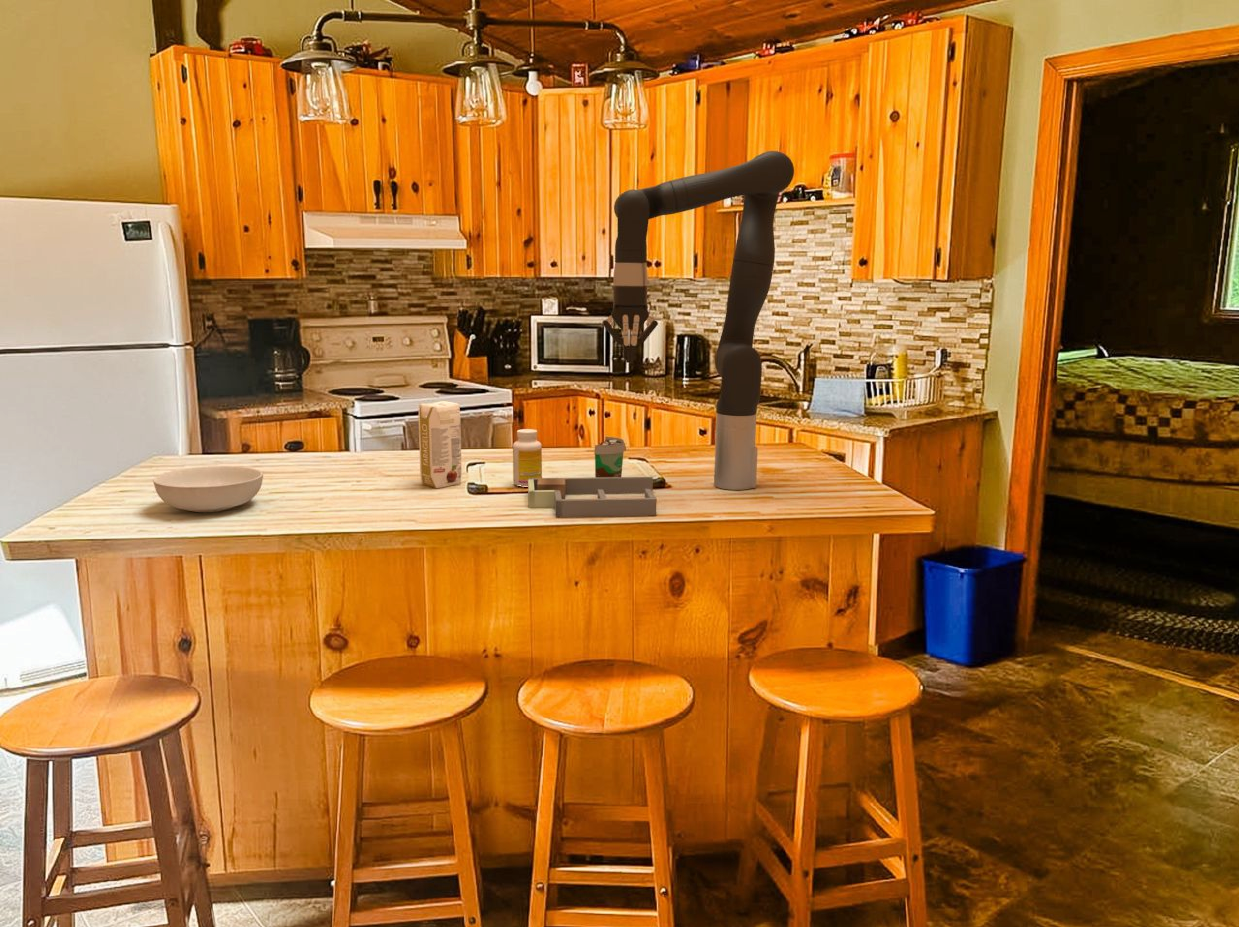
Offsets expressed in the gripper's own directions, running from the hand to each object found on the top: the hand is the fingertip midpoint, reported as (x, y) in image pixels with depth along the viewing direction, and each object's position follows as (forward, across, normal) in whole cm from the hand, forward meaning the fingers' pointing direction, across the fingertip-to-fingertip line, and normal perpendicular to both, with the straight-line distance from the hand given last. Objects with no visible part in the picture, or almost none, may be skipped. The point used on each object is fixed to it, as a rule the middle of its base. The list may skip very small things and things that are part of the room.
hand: (629, 362), depth 214 cm
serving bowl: (+29, +89, +12) cm, 94 cm away
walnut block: (+29, +18, +9) cm, 35 cm away
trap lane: (+29, +9, +14) cm, 33 cm away
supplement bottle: (+29, +23, -4) cm, 37 cm away
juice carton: (+29, +43, -6) cm, 52 cm away
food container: (+29, +3, -5) cm, 30 cm away
